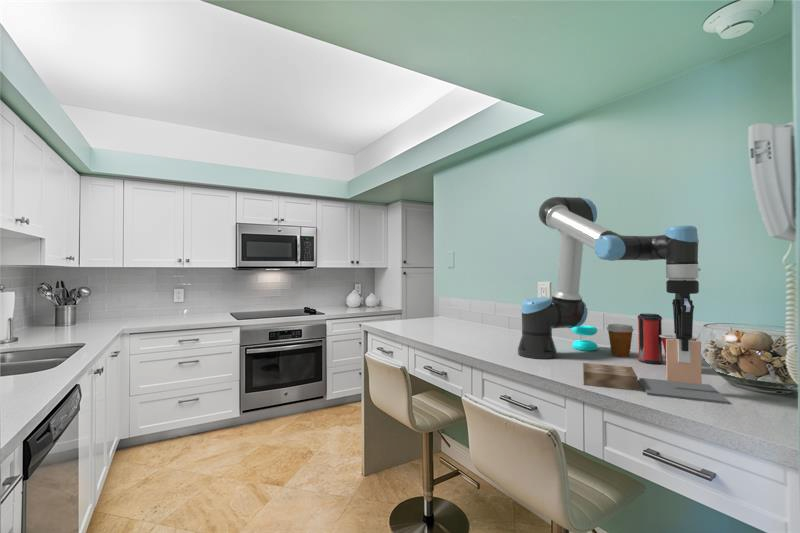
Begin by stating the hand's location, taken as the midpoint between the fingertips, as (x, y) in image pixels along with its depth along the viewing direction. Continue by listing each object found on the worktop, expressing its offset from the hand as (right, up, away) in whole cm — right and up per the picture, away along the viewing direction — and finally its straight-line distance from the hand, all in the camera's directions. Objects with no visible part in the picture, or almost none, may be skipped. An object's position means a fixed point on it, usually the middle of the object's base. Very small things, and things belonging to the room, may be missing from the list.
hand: (683, 361), depth 109 cm
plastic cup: (+15, -9, +23) cm, 29 cm away
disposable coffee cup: (+9, -9, +46) cm, 47 cm away
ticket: (0, -6, 0) cm, 6 cm away
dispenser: (-17, -9, +9) cm, 21 cm away
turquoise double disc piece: (0, -9, +58) cm, 58 cm away
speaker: (+13, -9, +34) cm, 37 cm away
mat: (-1, -9, 0) cm, 9 cm away
